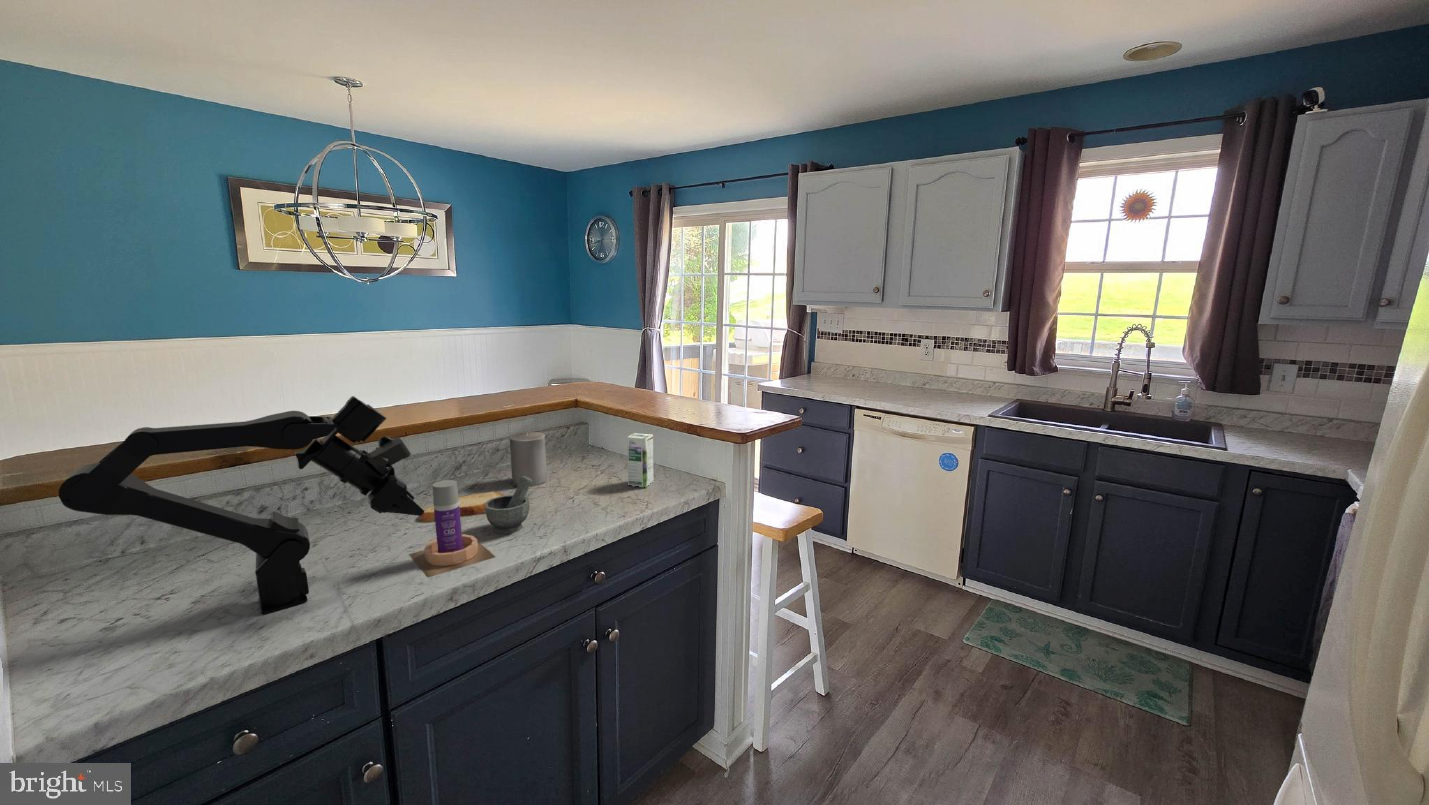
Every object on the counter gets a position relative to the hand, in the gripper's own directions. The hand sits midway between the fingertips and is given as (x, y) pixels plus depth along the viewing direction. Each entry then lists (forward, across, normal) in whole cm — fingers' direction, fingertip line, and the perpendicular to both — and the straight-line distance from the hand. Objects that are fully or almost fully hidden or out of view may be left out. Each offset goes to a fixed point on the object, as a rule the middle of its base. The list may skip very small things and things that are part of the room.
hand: (417, 506), depth 112 cm
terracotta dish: (+12, 0, +4) cm, 13 cm away
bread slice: (+20, +25, -2) cm, 32 cm away
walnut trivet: (+13, 0, +5) cm, 14 cm away
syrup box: (+51, +17, -34) cm, 64 cm away
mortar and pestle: (+23, +7, -5) cm, 25 cm away
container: (+12, 0, +4) cm, 13 cm away
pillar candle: (+34, +38, -17) cm, 54 cm away
